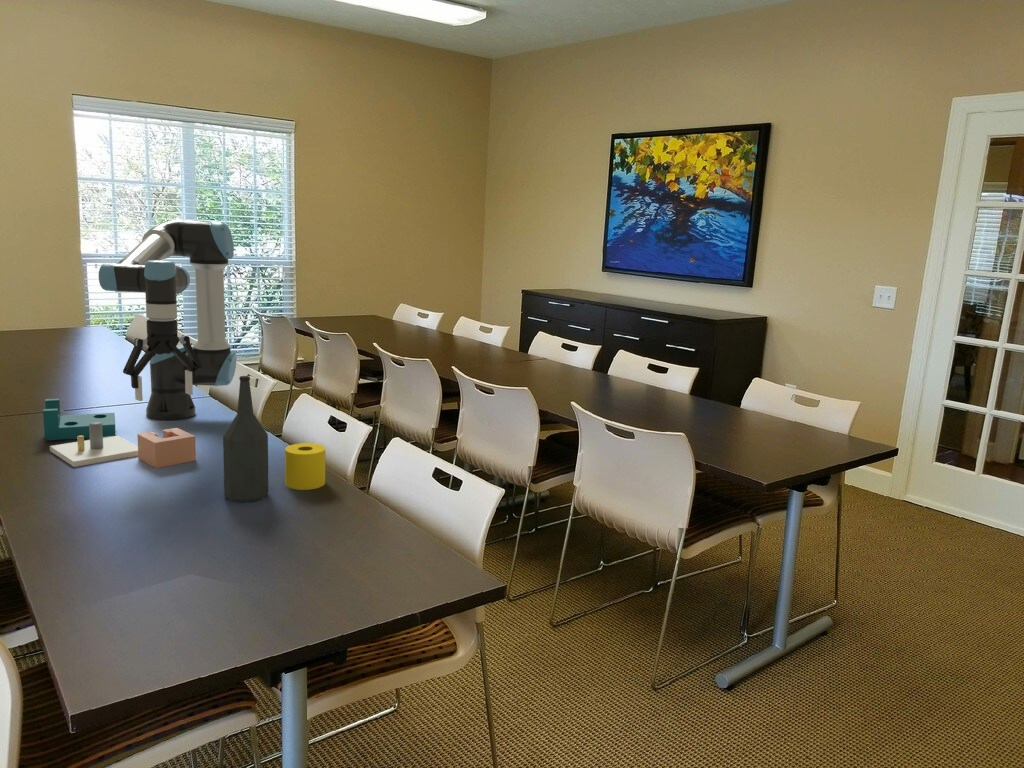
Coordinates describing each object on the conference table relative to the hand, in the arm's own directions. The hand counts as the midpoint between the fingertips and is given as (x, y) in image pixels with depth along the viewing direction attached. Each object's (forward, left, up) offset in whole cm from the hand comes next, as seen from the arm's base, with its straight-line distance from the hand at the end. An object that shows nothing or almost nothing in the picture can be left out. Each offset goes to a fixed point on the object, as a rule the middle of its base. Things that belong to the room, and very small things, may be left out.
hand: (164, 397), depth 208 cm
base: (+12, -17, -18) cm, 27 cm away
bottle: (-2, +39, -18) cm, 43 cm away
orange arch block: (0, 0, -18) cm, 18 cm away
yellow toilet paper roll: (-18, +40, -18) cm, 47 cm away
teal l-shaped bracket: (+9, -37, -18) cm, 42 cm away
